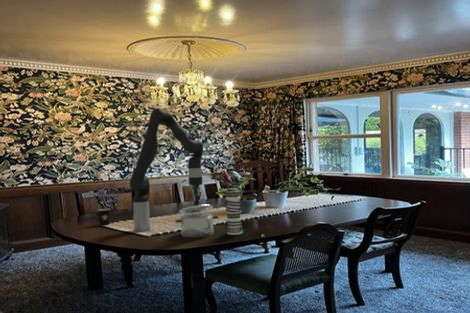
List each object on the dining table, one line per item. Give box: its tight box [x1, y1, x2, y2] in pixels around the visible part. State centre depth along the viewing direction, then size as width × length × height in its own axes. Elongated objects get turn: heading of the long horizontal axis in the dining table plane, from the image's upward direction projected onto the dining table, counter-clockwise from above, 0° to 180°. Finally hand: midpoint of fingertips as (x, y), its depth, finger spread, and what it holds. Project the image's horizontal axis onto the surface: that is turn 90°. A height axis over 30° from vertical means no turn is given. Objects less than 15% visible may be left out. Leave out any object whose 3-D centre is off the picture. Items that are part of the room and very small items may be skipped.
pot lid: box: [178, 204, 214, 216], centre depth 246 cm, size 19×20×3 cm
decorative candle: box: [224, 187, 243, 236], centre depth 242 cm, size 9×9×25 cm
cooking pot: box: [174, 213, 219, 239], centre depth 245 cm, size 24×18×10 cm
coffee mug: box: [91, 208, 112, 226], centre depth 290 cm, size 12×9×10 cm
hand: (196, 207), depth 243 cm, fingers closed
